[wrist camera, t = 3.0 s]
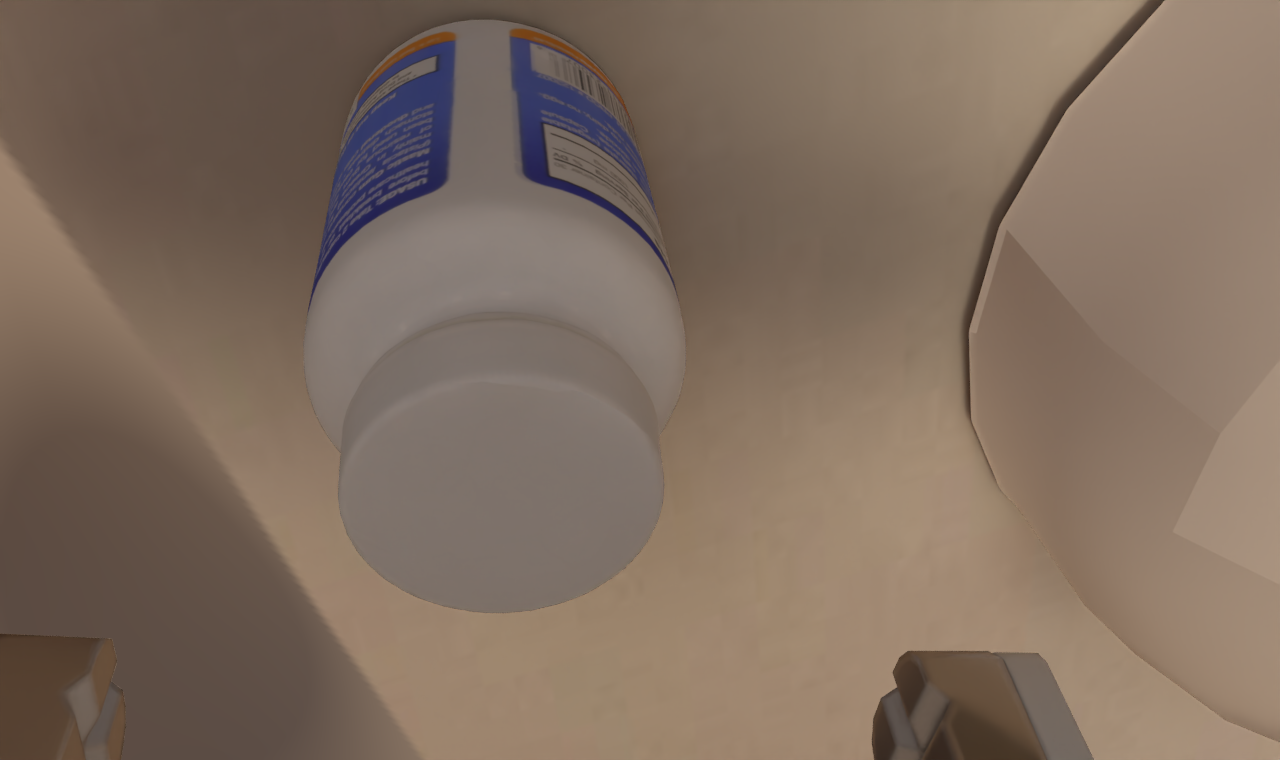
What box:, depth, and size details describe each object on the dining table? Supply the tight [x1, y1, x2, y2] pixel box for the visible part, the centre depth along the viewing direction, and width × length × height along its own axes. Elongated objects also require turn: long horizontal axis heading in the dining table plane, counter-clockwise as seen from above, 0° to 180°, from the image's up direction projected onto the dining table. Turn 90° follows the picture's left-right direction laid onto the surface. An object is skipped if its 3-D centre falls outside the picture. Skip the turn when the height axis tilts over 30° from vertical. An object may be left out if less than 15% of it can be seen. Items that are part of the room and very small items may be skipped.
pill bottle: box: [304, 20, 686, 613], centre depth 18 cm, size 5×5×10 cm
